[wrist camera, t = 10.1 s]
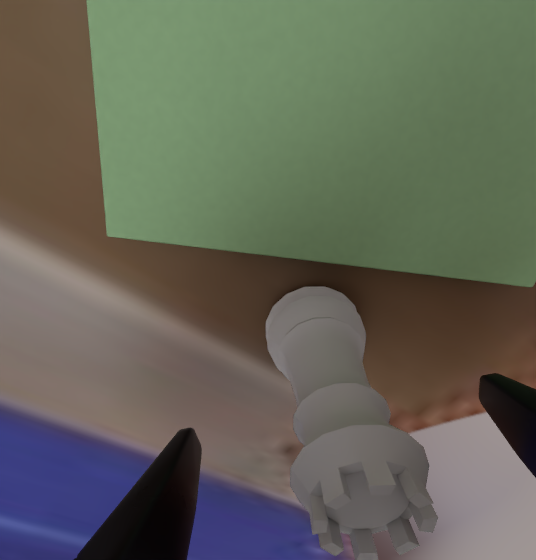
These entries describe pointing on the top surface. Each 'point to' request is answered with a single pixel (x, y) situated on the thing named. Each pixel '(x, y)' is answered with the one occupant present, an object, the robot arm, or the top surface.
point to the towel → (323, 130)
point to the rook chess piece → (345, 429)
